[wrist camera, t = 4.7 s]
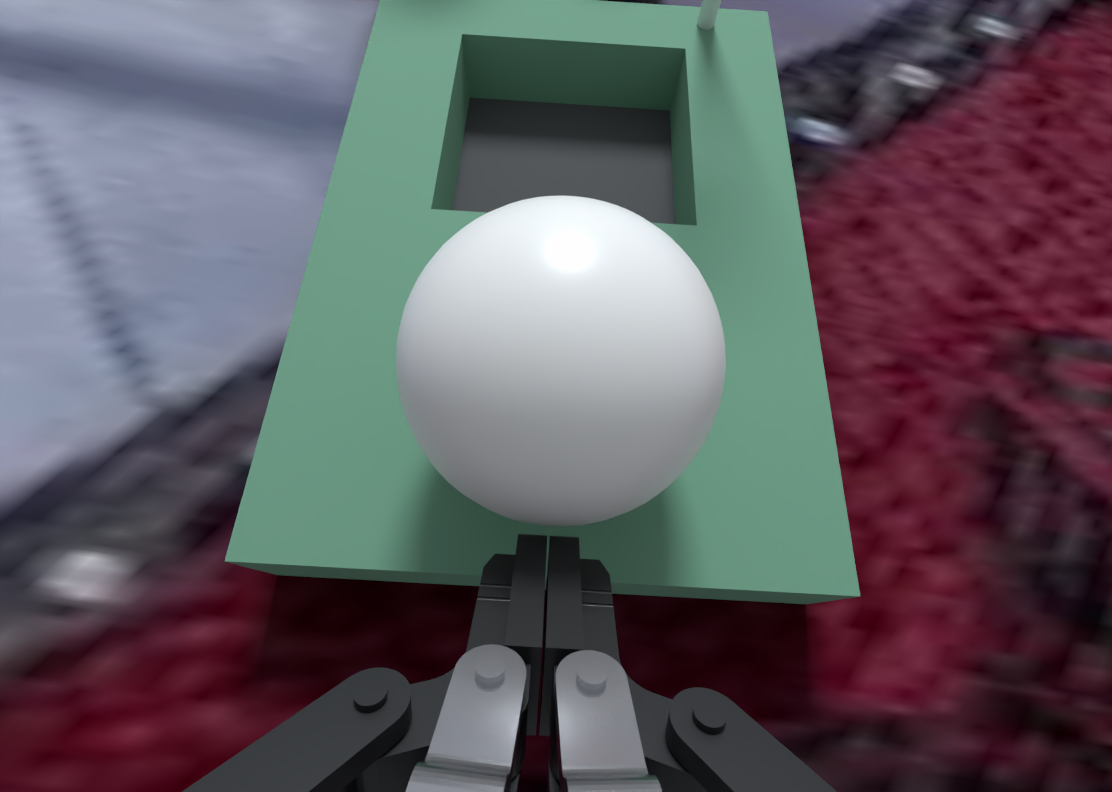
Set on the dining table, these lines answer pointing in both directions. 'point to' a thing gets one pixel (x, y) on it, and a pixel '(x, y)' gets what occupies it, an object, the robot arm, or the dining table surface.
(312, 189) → the dining table surface
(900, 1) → the dining table surface
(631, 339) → the ball
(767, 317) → the mini golf green
